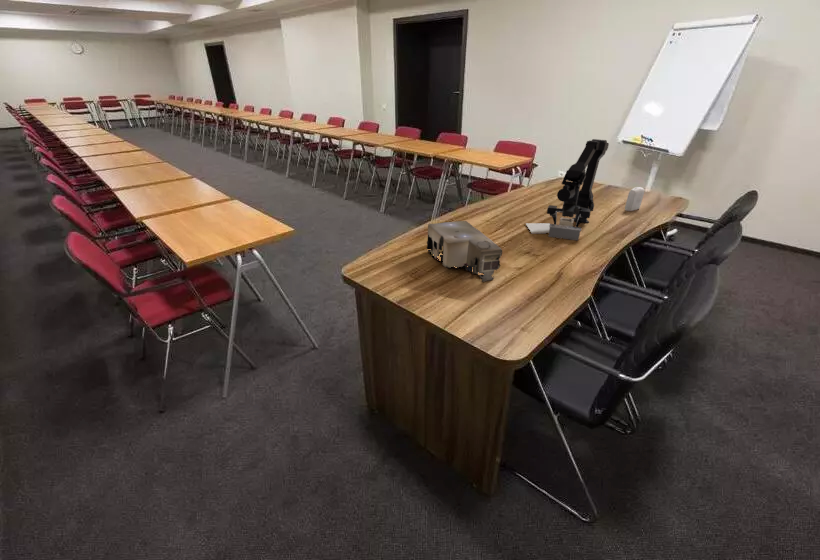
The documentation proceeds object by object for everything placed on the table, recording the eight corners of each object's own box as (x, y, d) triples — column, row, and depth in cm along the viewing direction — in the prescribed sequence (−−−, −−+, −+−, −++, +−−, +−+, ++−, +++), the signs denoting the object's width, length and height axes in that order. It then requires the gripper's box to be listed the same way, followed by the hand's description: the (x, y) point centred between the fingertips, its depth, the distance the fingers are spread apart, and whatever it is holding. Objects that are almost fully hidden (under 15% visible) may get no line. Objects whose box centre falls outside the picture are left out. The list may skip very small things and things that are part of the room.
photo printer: (633, 206, 216) (639, 185, 210) (640, 208, 213) (647, 186, 207) (623, 210, 211) (628, 187, 205) (630, 212, 208) (636, 189, 202)
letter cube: (558, 229, 186) (560, 217, 183) (571, 230, 184) (573, 218, 181) (557, 233, 181) (559, 220, 178) (570, 234, 179) (573, 222, 176)
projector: (454, 286, 135) (457, 251, 129) (425, 252, 163) (427, 222, 157) (500, 281, 140) (505, 247, 134) (465, 248, 168) (467, 219, 162)
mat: (525, 224, 192) (525, 223, 191) (549, 224, 191) (549, 223, 191) (530, 233, 181) (531, 231, 181) (556, 233, 180) (556, 231, 180)
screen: (548, 234, 179) (549, 223, 177) (579, 238, 174) (581, 227, 172) (547, 236, 177) (549, 225, 174) (578, 240, 172) (581, 229, 170)
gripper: (548, 199, 171) (543, 231, 178) (593, 203, 165) (586, 237, 172) (550, 193, 180) (545, 224, 188) (593, 196, 174) (586, 229, 181)
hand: (565, 228), depth 182 cm, fingers open, 9 cm apart
